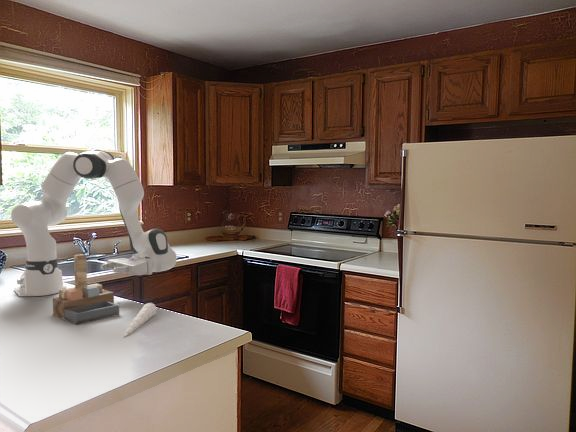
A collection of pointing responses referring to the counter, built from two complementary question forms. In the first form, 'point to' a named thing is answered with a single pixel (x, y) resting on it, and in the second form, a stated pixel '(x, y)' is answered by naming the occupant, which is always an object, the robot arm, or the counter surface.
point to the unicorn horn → (141, 317)
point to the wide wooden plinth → (79, 302)
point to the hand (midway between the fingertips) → (107, 268)
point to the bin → (91, 312)
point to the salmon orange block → (74, 294)
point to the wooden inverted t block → (79, 275)
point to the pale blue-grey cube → (90, 291)
